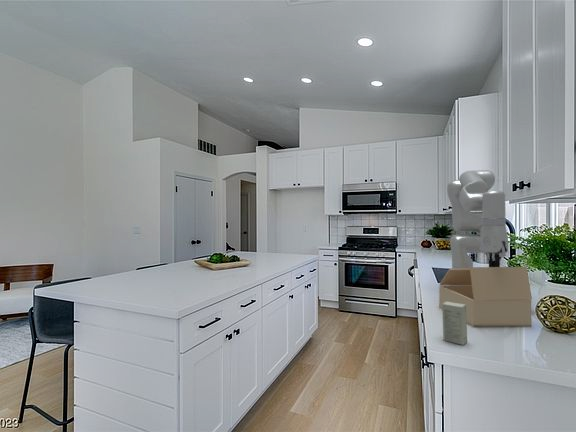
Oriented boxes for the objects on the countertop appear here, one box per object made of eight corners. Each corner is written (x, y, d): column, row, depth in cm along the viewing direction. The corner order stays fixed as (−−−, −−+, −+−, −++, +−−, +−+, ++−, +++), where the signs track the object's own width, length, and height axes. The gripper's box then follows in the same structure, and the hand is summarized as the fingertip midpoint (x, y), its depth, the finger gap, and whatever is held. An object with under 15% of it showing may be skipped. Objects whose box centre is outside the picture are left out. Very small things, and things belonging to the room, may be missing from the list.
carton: (439, 307, 136) (439, 285, 136) (487, 306, 137) (487, 285, 137) (473, 327, 112) (473, 300, 112) (531, 326, 113) (531, 300, 113)
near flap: (500, 269, 128) (499, 268, 129) (450, 269, 128) (449, 268, 128) (486, 284, 137) (486, 283, 137) (439, 285, 136) (439, 284, 137)
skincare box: (467, 341, 99) (467, 304, 99) (463, 345, 96) (463, 307, 96) (446, 336, 104) (446, 300, 104) (442, 339, 101) (441, 303, 101)
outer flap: (469, 267, 115) (470, 267, 114) (525, 266, 115) (526, 266, 115) (473, 300, 112) (474, 300, 112) (530, 299, 113) (532, 299, 112)
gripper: (471, 223, 124) (472, 268, 124) (498, 223, 109) (498, 274, 109) (489, 223, 125) (490, 268, 124) (518, 223, 110) (519, 274, 109)
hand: (494, 270), depth 116 cm, fingers closed
